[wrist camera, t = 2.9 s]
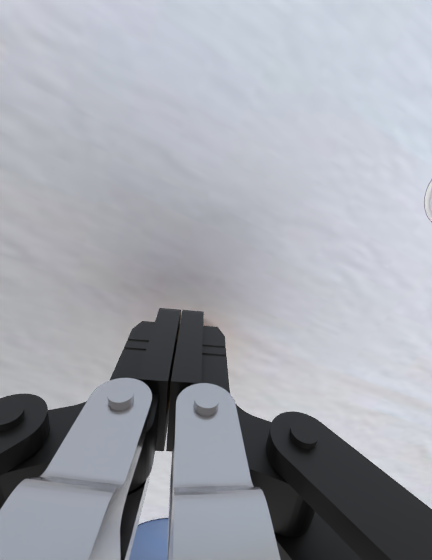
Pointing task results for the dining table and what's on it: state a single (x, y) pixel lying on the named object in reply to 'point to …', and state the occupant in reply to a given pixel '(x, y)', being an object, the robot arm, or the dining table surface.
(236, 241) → the dining table surface
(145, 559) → the disc
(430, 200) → the chess piece
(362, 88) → the dining table surface
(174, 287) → the dining table surface
